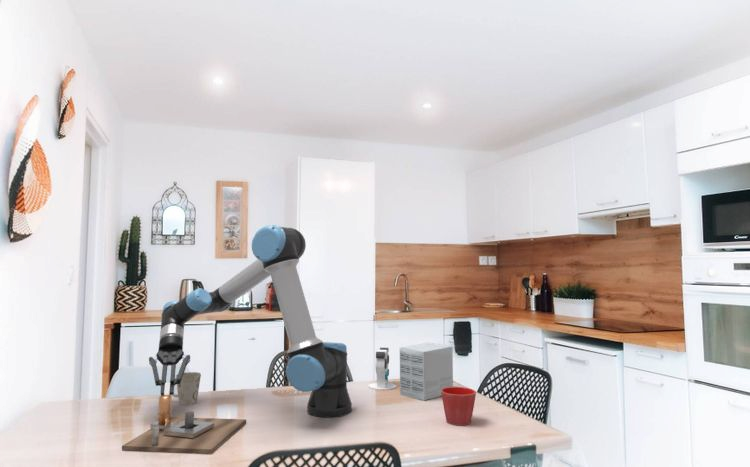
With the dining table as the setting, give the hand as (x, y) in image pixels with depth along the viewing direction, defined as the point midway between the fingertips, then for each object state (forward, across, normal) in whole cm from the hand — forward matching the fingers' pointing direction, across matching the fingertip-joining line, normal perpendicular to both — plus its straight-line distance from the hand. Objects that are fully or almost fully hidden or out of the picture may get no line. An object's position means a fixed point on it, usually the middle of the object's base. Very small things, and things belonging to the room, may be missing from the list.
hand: (166, 403), depth 149 cm
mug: (-14, -4, -24) cm, 28 cm away
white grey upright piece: (-12, -80, -23) cm, 84 cm away
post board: (+13, -7, +3) cm, 15 cm away
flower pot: (+23, -88, +12) cm, 91 cm away
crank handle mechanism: (+10, -4, +2) cm, 11 cm away
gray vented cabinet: (-1, -92, -12) cm, 93 cm away
